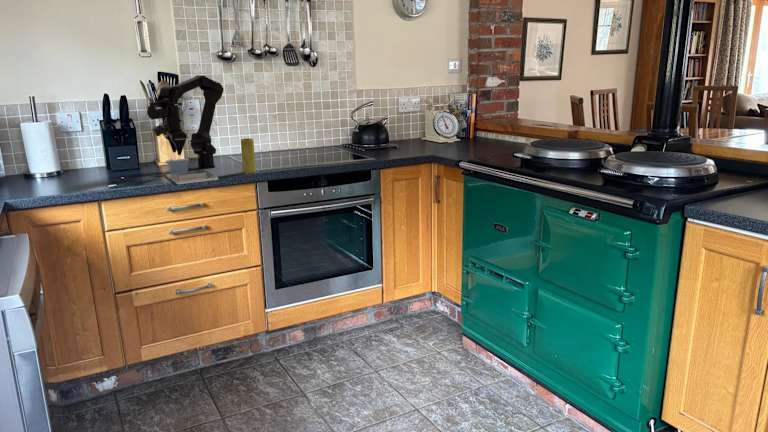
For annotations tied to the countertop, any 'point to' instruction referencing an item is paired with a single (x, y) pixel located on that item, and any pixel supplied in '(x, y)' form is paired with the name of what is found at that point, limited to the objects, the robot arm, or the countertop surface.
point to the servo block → (177, 165)
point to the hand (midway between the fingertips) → (176, 153)
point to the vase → (248, 156)
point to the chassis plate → (191, 177)
